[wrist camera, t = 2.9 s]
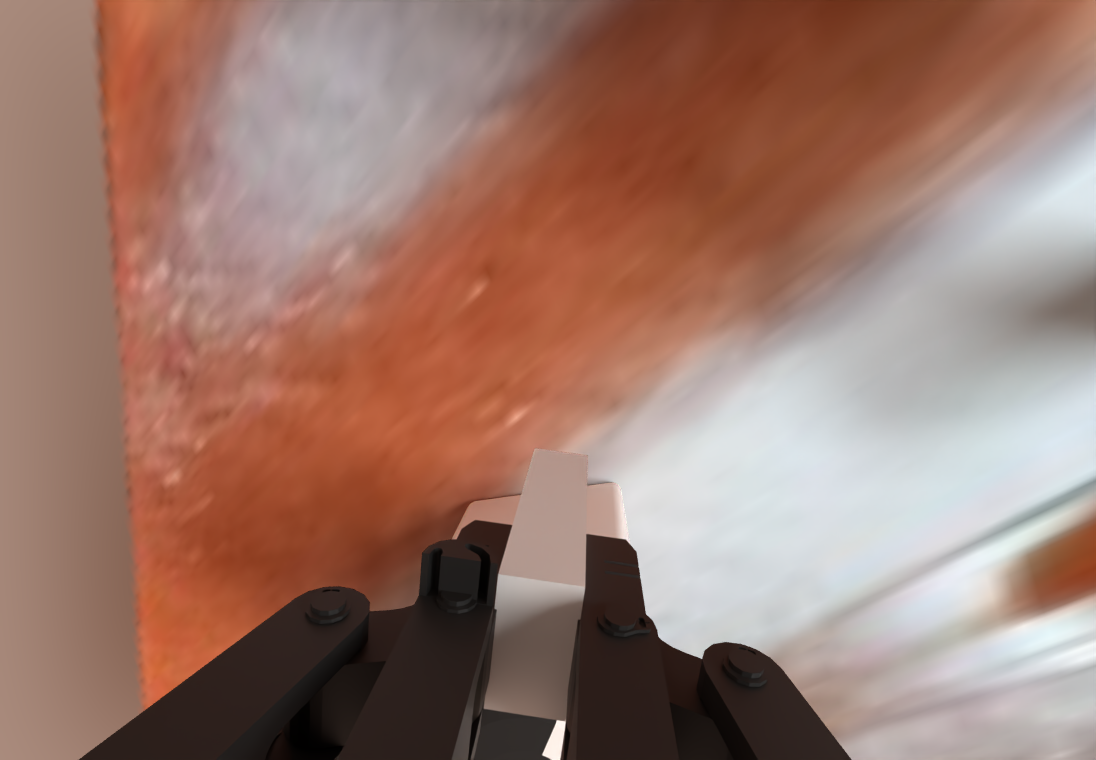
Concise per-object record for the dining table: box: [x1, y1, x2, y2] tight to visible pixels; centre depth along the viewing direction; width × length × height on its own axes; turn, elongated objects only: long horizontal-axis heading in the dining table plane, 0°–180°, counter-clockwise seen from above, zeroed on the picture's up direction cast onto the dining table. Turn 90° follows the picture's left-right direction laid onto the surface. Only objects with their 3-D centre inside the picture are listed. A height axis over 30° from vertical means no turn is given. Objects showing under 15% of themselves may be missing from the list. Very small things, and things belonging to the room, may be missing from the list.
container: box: [452, 482, 630, 760], centre depth 23 cm, size 8×8×13 cm
